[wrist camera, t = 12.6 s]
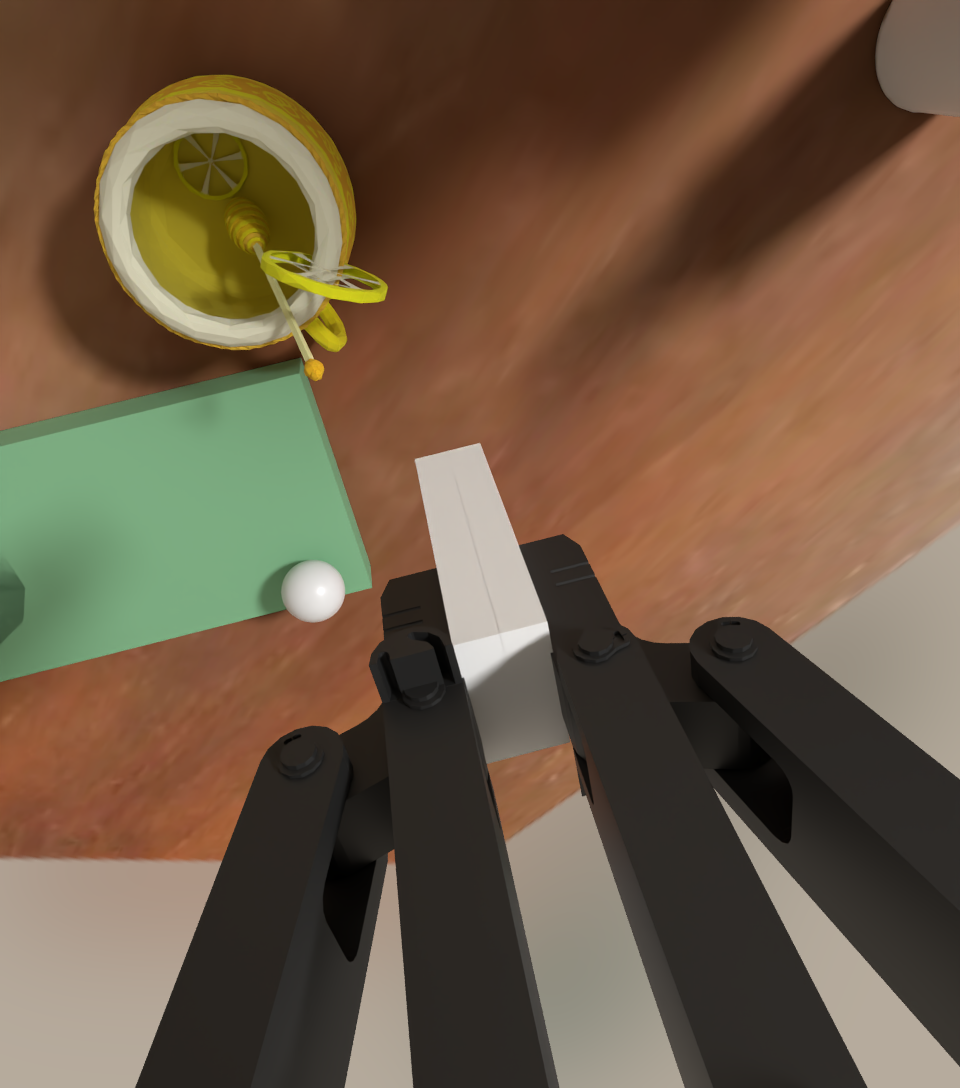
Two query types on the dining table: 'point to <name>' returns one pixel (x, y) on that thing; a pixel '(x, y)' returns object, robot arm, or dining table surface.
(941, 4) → the bottle
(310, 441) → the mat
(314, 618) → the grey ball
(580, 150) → the dining table surface
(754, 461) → the dining table surface
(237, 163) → the mug
